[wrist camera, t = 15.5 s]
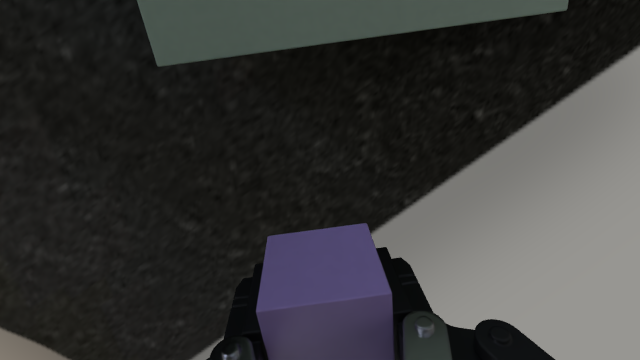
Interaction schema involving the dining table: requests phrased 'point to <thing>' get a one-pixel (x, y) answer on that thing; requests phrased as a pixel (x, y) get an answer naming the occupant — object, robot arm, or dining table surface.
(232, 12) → the cabinet
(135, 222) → the dining table surface
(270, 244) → the cube
